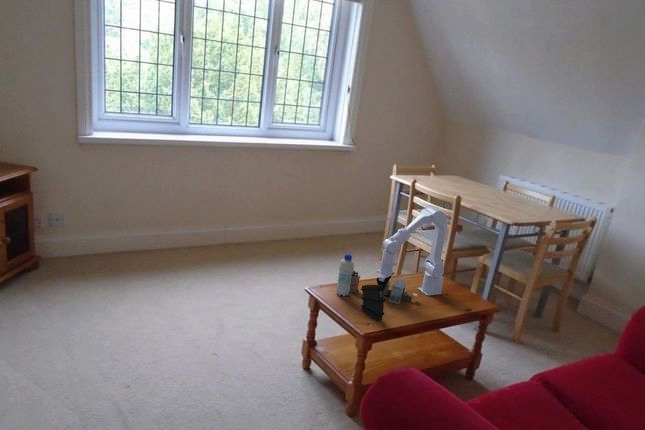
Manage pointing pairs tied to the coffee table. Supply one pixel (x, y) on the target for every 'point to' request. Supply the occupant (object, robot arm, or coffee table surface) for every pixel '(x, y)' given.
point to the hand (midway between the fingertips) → (382, 289)
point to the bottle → (345, 275)
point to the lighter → (354, 281)
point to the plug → (404, 296)
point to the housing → (397, 291)
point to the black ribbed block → (373, 301)
